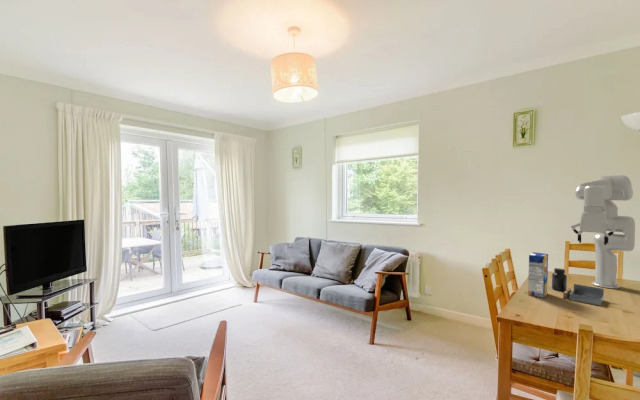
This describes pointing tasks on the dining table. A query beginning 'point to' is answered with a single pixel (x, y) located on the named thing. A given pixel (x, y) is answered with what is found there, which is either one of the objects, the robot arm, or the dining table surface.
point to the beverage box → (538, 274)
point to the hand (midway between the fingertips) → (592, 243)
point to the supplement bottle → (559, 280)
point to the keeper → (587, 294)
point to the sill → (566, 293)
